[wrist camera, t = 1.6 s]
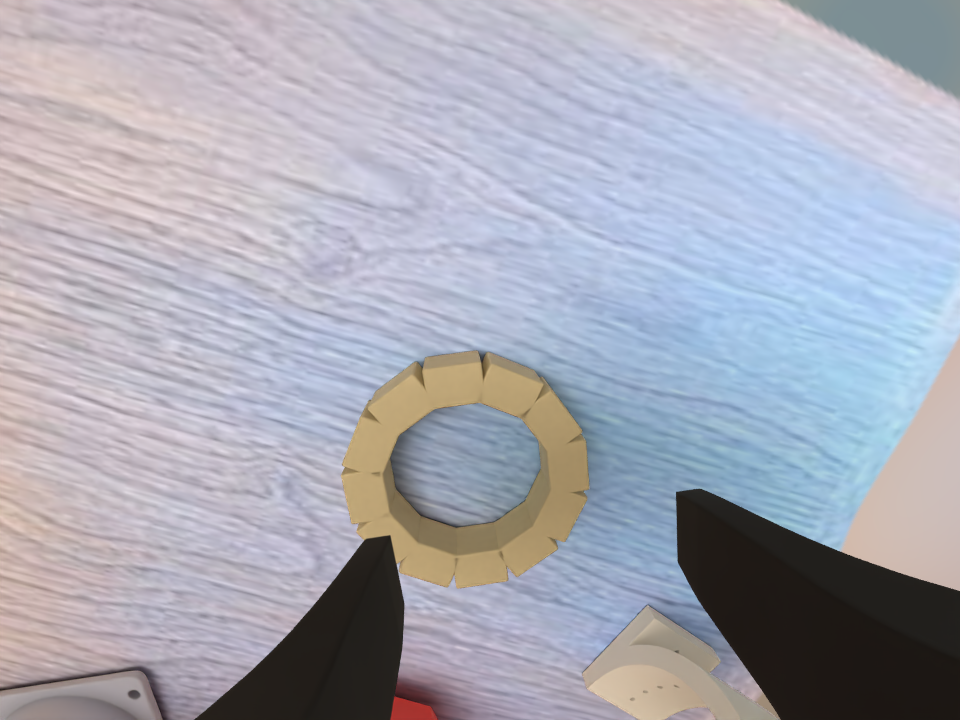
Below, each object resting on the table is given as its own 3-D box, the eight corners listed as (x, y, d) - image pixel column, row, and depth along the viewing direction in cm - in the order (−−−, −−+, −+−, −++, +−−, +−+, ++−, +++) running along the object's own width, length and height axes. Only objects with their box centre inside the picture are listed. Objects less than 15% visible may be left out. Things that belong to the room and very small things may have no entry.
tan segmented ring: (582, 539, 22) (595, 568, 20) (375, 570, 21) (368, 603, 19) (566, 337, 19) (580, 348, 17) (333, 368, 19) (320, 383, 17)
